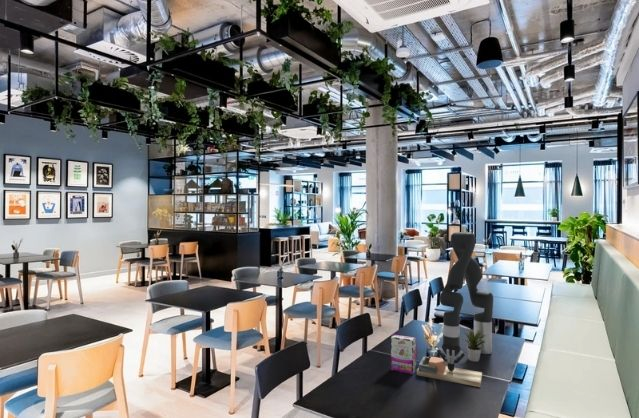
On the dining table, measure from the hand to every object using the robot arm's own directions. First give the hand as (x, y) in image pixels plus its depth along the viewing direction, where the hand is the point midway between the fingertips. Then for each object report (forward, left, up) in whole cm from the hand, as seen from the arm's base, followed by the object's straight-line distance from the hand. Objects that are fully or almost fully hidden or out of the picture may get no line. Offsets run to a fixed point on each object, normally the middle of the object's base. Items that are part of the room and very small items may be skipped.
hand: (450, 370), depth 186 cm
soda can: (-5, -21, -3) cm, 22 cm away
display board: (0, -1, -3) cm, 3 cm away
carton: (0, -6, -1) cm, 6 cm away
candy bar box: (+4, -22, -3) cm, 22 cm away
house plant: (-25, +8, -3) cm, 27 cm away
